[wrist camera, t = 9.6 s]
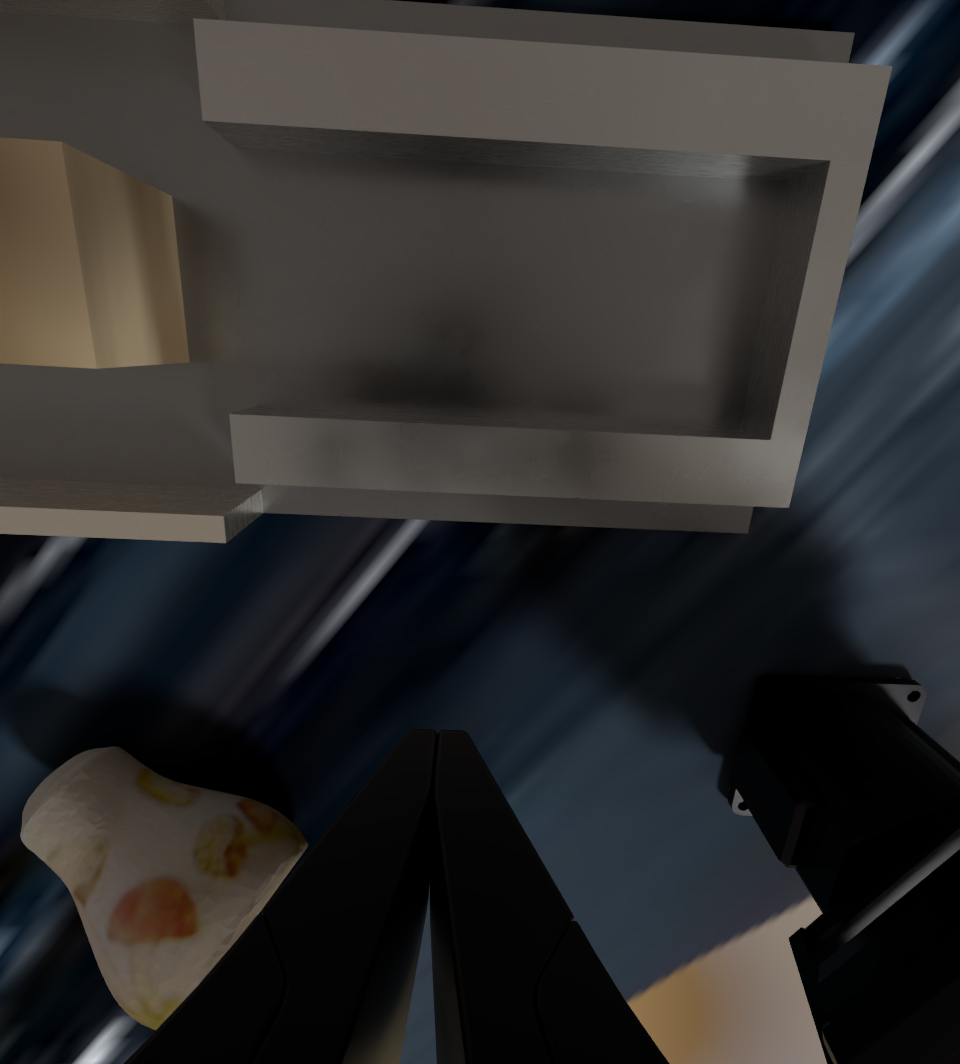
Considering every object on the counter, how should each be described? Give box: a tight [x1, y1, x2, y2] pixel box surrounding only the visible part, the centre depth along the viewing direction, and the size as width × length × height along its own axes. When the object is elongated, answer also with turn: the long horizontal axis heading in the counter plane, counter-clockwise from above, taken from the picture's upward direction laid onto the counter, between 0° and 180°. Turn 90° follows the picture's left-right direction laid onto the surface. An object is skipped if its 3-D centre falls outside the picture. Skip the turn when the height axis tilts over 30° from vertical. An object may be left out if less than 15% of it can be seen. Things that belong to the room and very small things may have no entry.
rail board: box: [0, 0, 892, 543], centre depth 15 cm, size 30×14×4 cm, turn 87°
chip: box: [0, 137, 189, 369], centre depth 14 cm, size 4×4×4 cm
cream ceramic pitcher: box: [21, 747, 308, 1030], centre depth 21 cm, size 8×10×10 cm
